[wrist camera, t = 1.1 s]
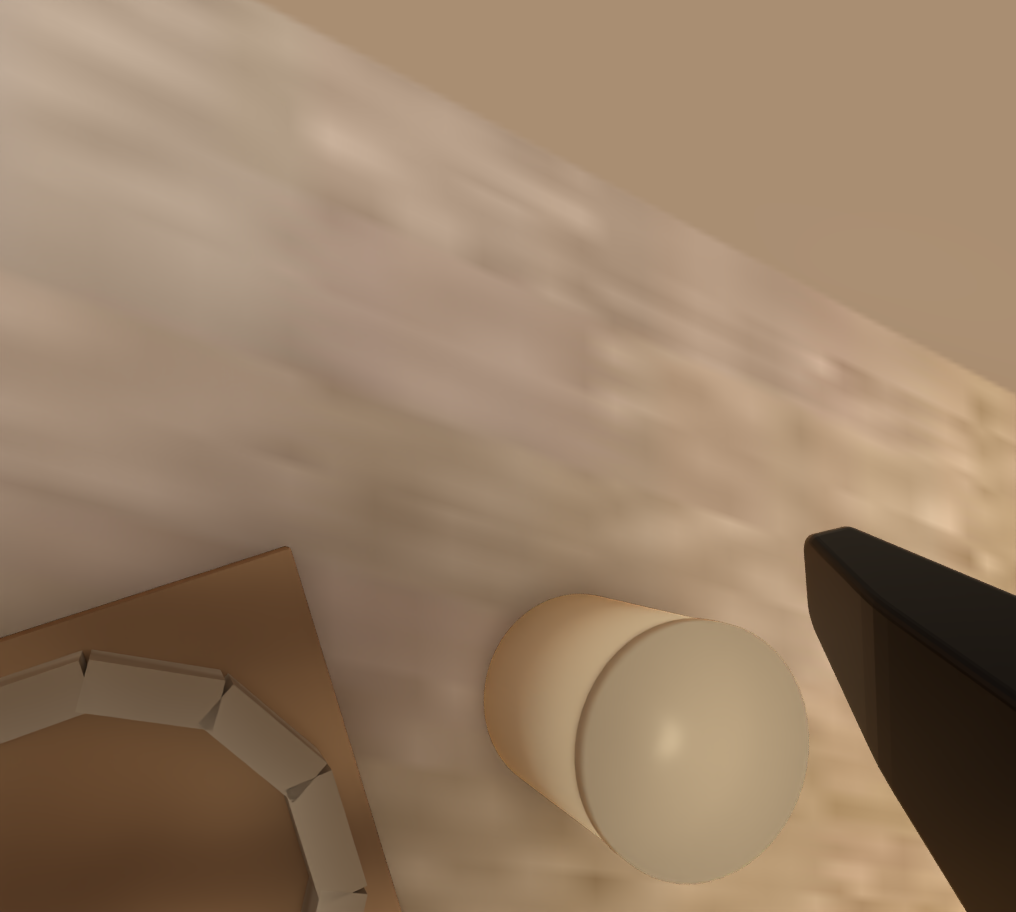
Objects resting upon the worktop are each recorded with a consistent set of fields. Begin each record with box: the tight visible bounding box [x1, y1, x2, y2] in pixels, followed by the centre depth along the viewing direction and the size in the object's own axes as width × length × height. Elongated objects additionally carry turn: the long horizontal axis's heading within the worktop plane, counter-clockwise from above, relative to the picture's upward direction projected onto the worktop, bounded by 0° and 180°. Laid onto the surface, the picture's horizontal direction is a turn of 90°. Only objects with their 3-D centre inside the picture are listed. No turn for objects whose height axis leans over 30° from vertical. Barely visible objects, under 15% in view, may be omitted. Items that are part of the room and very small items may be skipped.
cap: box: [484, 594, 809, 884], centre depth 26 cm, size 6×6×7 cm
